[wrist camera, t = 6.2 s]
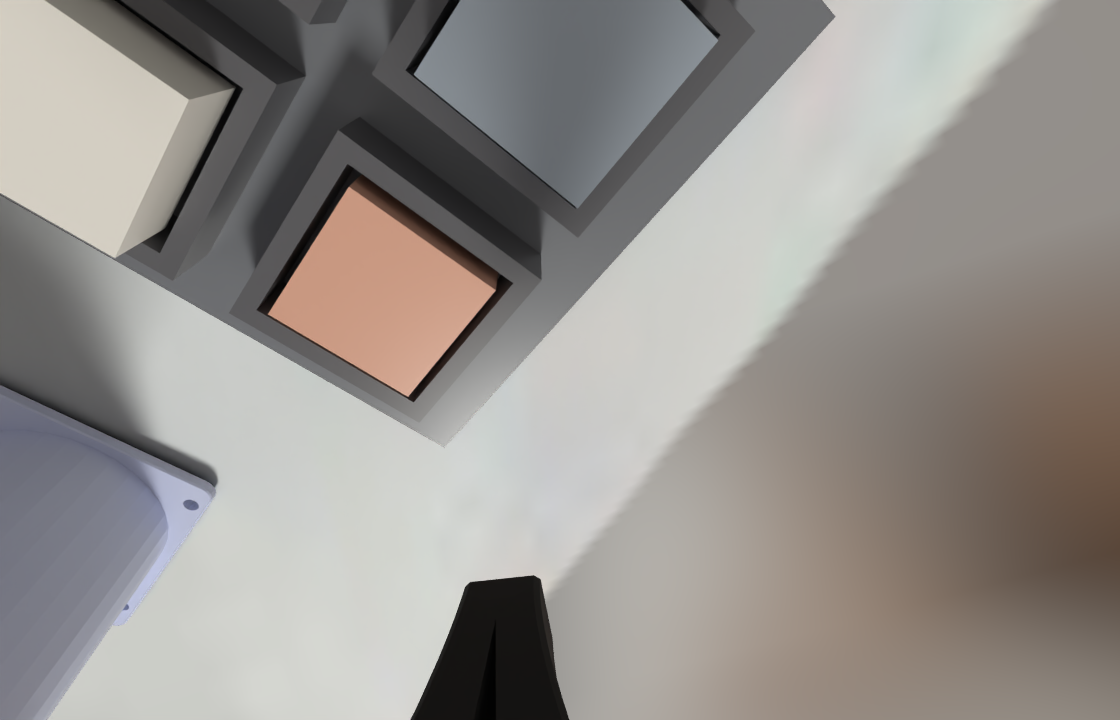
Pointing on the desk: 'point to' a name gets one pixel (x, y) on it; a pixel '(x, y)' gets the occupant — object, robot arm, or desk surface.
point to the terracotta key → (384, 288)
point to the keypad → (418, 174)
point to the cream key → (100, 118)
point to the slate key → (564, 77)
